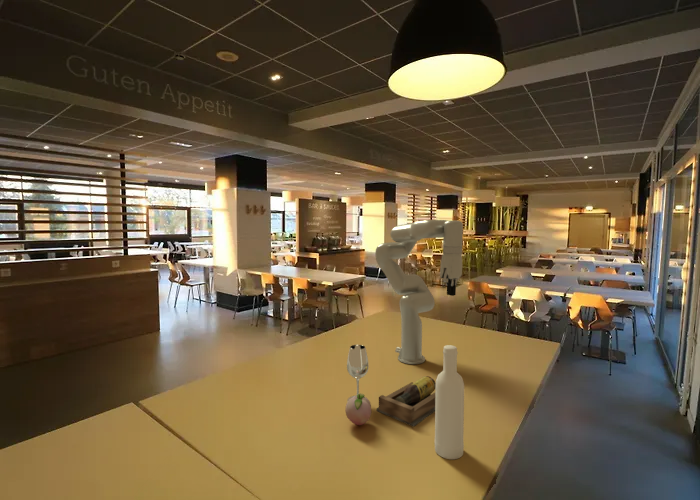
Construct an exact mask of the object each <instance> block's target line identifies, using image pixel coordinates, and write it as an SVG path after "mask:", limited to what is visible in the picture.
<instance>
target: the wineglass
mask: <svg viewBox="0 0 700 500" xmlns="http://www.w3.org/2000/svg"><path fill="white" fill-rule="evenodd" d="M346 361H347V362H346V369H347V373H348V374H349V375H350V376H351V377H352V378H354V379H356V395H351V396H350V397H348V398H347V402H348V401H349V399H351V398H352V397H355V396H357V395H358V394H360V391H359V389H360V388H359V387H360V379H361V378H364V377H365V376H366V375H367V373H368V372H369V368H370V367H369V358H368V352H367V349H366V346H365V345H363V344H351V346H349V351H348V355H347V360H346Z"/></svg>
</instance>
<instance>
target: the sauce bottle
mask: <svg viewBox="0 0 700 500" xmlns="http://www.w3.org/2000/svg"><path fill="white" fill-rule="evenodd" d="M434 391H436V380H435V379H434V378H433V377H431V376H429V375H427V376H422V377H421V378H420V379H418V380H416V381H415V382H413V384H411V385H410V386H409V387H407V388H406V389H405V391H404V394H403V395H401V396H399V397H397V398H396V401H399V402H402V403H404V404H407V405H409V404H413V403H418V402H420V401H421V400H423V399H424V398H426V397H427V396H428V395H430V394H431V395H432V394H433V393H434Z"/></svg>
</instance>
